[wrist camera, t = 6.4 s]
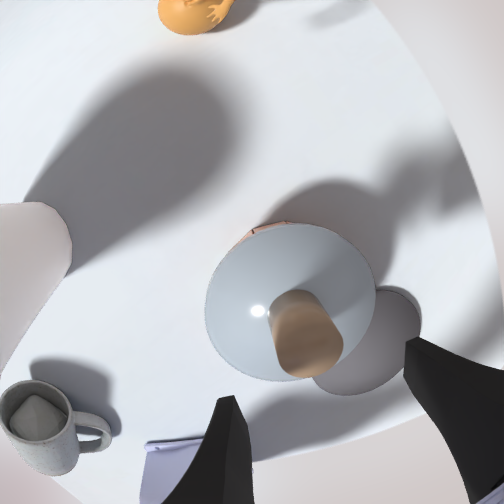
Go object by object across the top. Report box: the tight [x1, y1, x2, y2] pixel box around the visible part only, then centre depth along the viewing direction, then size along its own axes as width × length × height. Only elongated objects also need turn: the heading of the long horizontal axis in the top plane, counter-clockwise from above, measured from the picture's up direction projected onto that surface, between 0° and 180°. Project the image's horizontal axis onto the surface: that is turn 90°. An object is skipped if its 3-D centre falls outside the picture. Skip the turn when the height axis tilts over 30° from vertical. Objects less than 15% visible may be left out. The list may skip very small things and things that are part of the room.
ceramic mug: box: [0, 380, 112, 476], centre depth 19 cm, size 11×8×8 cm
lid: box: [205, 223, 376, 382], centre depth 15 cm, size 10×10×4 cm
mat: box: [312, 290, 420, 396], centre depth 22 cm, size 10×10×1 cm
